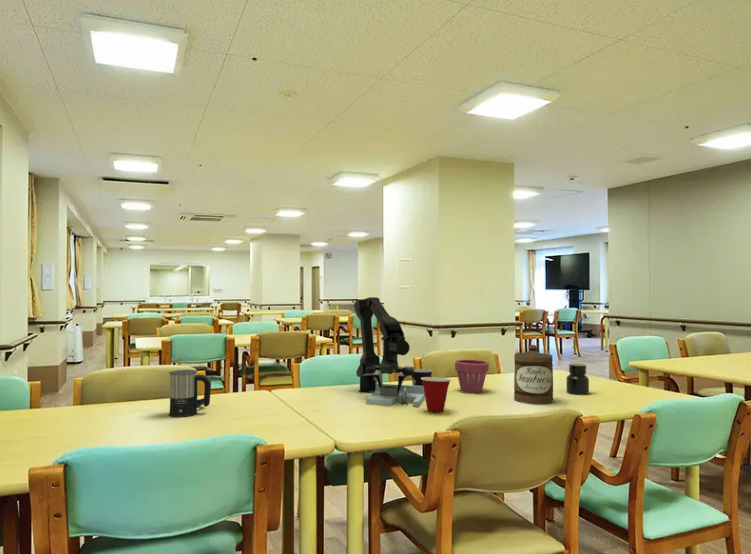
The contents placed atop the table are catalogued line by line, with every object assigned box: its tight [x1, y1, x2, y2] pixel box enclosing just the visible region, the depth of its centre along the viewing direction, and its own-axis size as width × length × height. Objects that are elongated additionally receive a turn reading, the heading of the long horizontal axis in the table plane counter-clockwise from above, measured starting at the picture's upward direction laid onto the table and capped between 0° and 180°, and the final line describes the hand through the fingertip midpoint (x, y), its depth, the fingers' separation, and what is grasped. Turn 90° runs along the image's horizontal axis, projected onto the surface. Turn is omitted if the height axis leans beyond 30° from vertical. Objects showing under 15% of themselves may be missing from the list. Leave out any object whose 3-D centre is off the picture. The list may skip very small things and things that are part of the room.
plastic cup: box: [421, 376, 452, 414], centre depth 192 cm, size 11×11×12 cm
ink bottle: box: [566, 363, 590, 396], centre depth 227 cm, size 10×9×12 cm
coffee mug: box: [411, 368, 433, 386], centre depth 222 cm, size 12×9×10 cm
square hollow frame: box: [380, 385, 400, 397], centre depth 210 cm, size 6×6×3 cm
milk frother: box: [168, 369, 212, 418], centre depth 188 cm, size 14×16×15 cm
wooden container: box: [513, 344, 554, 405], centre depth 211 cm, size 15×15×22 cm
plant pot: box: [454, 359, 490, 394], centre depth 229 cm, size 14×14×13 cm
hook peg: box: [401, 388, 408, 405], centre depth 202 cm, size 2×2×6 cm
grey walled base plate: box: [365, 383, 425, 408], centre depth 207 cm, size 20×16×5 cm
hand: (389, 392), depth 210 cm, fingers closed on square hollow frame, 6 cm apart
